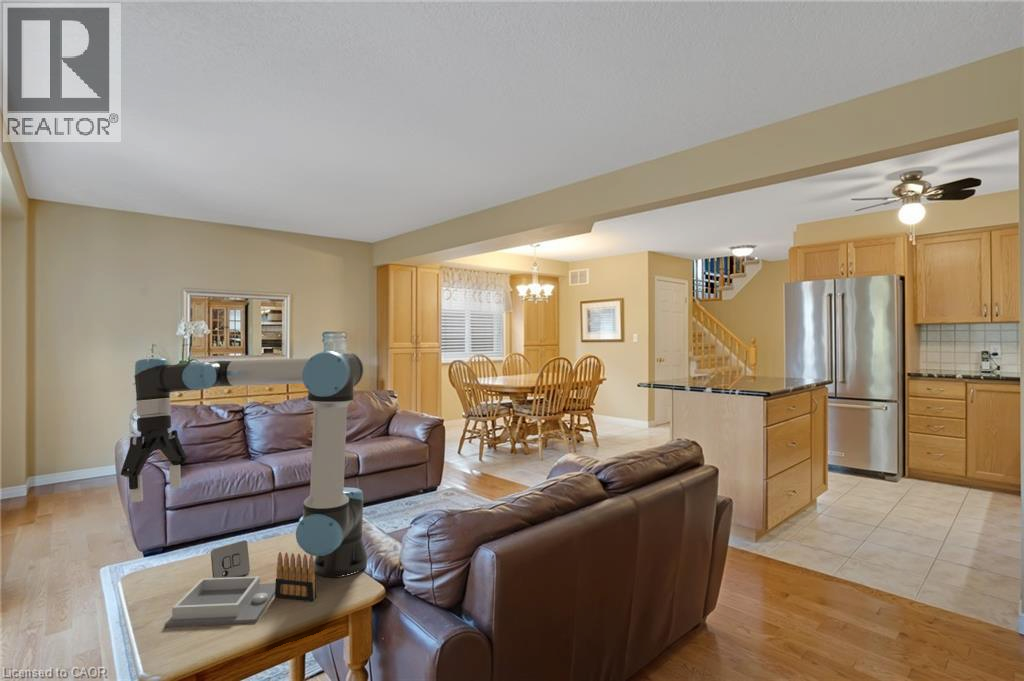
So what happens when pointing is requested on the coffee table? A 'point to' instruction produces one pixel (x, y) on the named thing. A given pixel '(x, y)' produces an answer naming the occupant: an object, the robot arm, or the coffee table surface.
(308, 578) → the ammunition clip
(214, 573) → the electrical switch
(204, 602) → the housing
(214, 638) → the coffee table surface
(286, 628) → the coffee table surface
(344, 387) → the robot arm
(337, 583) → the coffee table surface
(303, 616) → the coffee table surface
